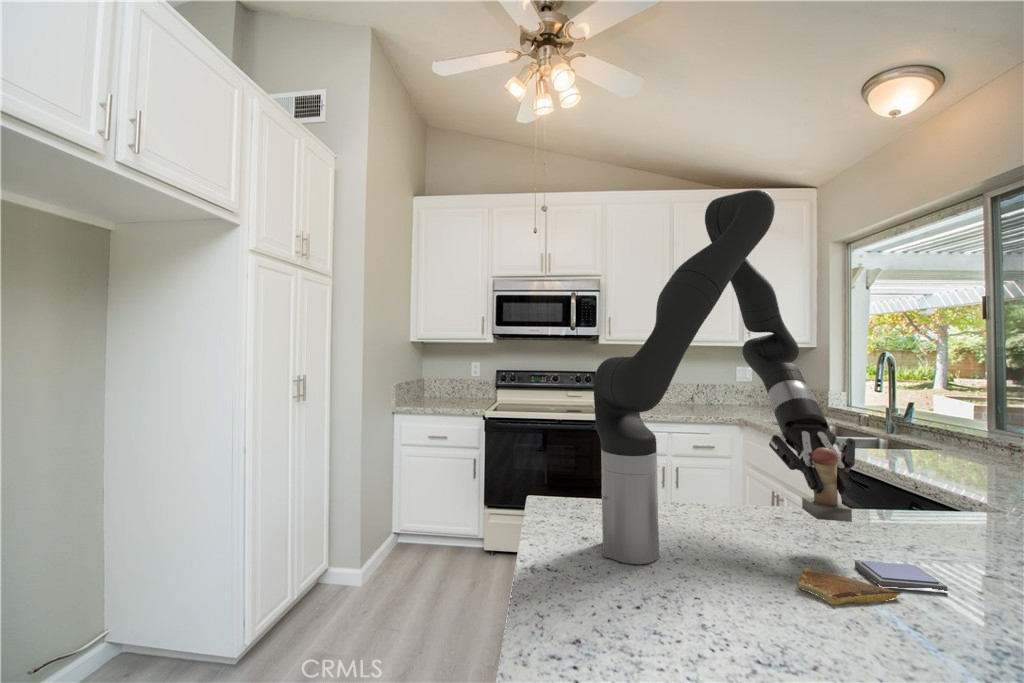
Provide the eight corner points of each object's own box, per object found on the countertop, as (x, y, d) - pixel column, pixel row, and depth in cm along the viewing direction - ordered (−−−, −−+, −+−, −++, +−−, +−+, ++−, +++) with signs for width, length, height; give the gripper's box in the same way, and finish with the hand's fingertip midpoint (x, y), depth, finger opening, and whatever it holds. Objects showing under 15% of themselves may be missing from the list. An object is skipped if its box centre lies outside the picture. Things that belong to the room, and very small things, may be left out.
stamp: (817, 519, 68) (815, 450, 69) (802, 508, 73) (800, 444, 74) (851, 521, 67) (850, 451, 68) (834, 510, 72) (832, 445, 73)
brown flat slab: (902, 603, 56) (901, 589, 56) (903, 631, 50) (902, 616, 50) (804, 575, 63) (804, 563, 63) (796, 597, 58) (795, 584, 58)
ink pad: (880, 587, 59) (880, 579, 59) (855, 566, 65) (854, 559, 65) (947, 593, 57) (947, 584, 57) (915, 571, 63) (914, 563, 63)
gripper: (761, 395, 80) (792, 477, 67) (844, 397, 77) (892, 483, 64) (751, 419, 85) (778, 499, 72) (829, 422, 82) (871, 506, 69)
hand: (832, 491), depth 68 cm, fingers closed on stamp, 3 cm apart
